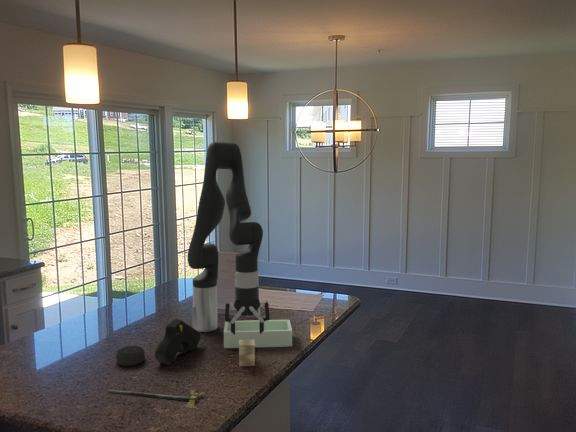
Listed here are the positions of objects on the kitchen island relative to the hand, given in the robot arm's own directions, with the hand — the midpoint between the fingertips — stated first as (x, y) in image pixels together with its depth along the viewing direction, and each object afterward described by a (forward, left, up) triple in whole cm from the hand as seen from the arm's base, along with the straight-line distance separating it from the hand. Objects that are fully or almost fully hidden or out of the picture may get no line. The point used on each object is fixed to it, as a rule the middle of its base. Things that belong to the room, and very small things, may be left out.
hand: (247, 333), depth 165 cm
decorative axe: (-25, -21, -11) cm, 34 cm away
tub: (+4, +19, -10) cm, 22 cm away
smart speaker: (-38, +4, -10) cm, 40 cm away
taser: (-23, +8, -10) cm, 26 cm away
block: (0, 0, -10) cm, 10 cm away
